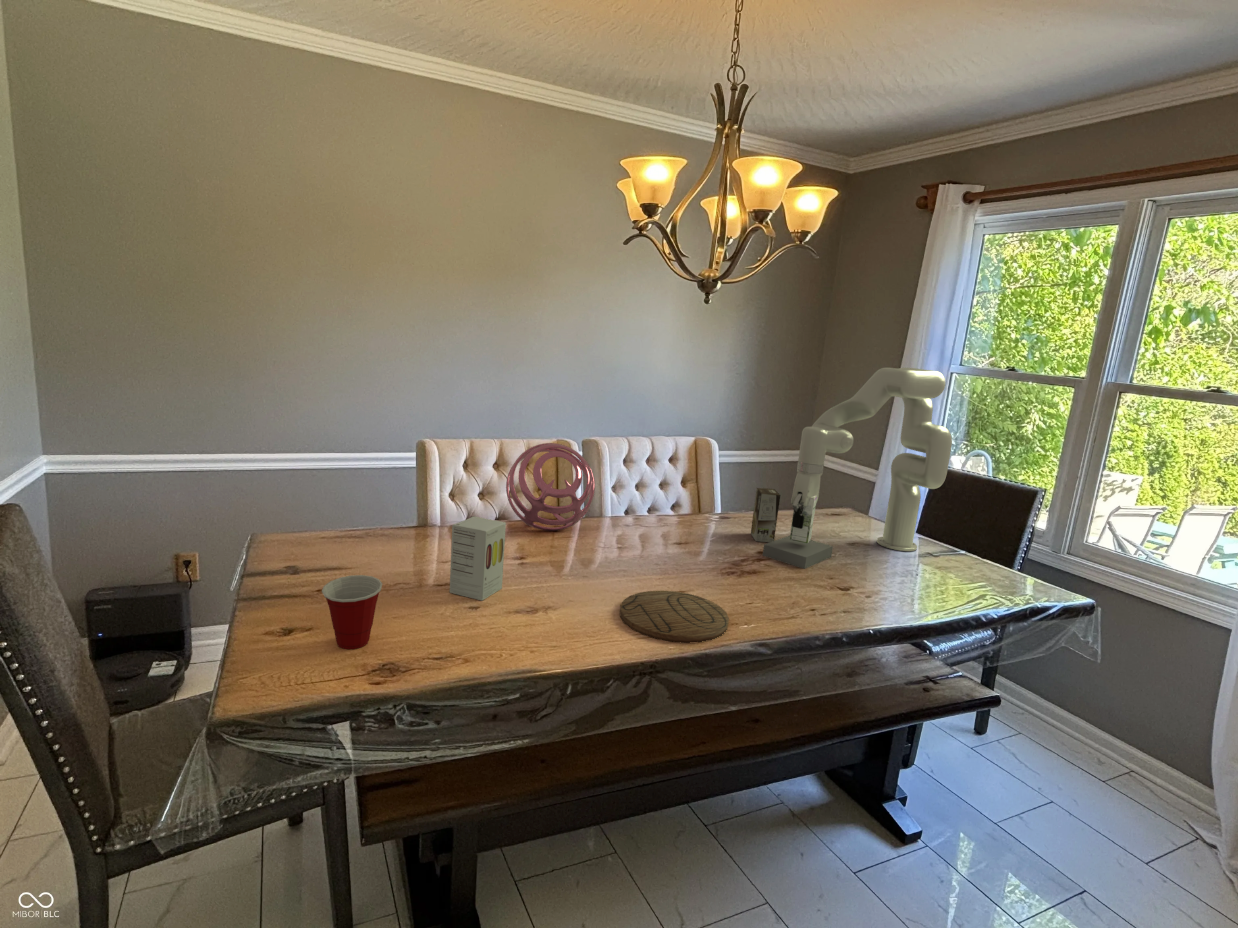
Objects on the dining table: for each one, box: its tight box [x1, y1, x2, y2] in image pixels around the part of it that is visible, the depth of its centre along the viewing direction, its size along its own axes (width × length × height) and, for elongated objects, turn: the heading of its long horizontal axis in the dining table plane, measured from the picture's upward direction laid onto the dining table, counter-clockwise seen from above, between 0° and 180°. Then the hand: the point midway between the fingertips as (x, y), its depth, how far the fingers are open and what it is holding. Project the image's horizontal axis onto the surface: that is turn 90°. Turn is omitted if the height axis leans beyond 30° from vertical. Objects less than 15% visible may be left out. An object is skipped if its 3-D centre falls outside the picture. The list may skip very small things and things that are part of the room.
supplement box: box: [449, 516, 507, 601], centre depth 161 cm, size 10×9×17 cm
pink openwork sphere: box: [505, 442, 596, 532], centre depth 217 cm, size 28×28×27 cm
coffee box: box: [750, 487, 781, 543], centre depth 224 cm, size 9×6×16 cm
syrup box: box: [789, 495, 817, 543], centre depth 207 cm, size 6×6×14 cm
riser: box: [762, 534, 834, 570], centre depth 209 cm, size 18×14×4 cm
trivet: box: [619, 590, 730, 644], centre depth 157 cm, size 25×25×2 cm
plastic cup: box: [321, 574, 383, 650], centre depth 131 cm, size 11×11×12 cm
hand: (802, 524), depth 208 cm, fingers closed on syrup box, 6 cm apart
